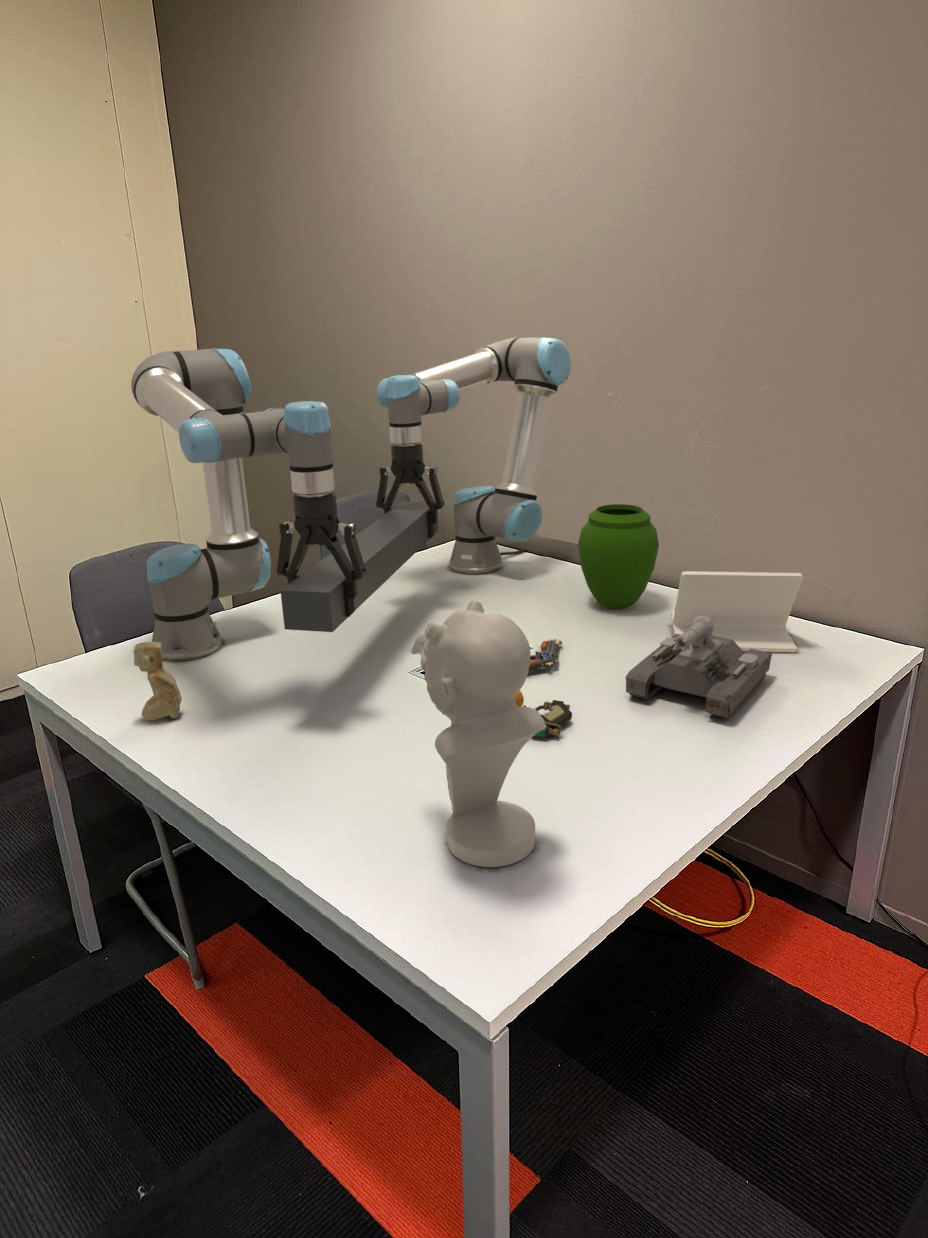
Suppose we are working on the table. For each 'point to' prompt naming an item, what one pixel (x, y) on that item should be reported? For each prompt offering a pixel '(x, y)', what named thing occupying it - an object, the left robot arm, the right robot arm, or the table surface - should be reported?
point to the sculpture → (157, 682)
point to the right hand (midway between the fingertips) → (412, 535)
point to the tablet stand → (740, 606)
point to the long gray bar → (383, 552)
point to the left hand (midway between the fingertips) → (325, 612)
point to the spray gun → (550, 715)
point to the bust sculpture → (481, 729)
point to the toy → (701, 669)
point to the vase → (618, 554)
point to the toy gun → (545, 654)
